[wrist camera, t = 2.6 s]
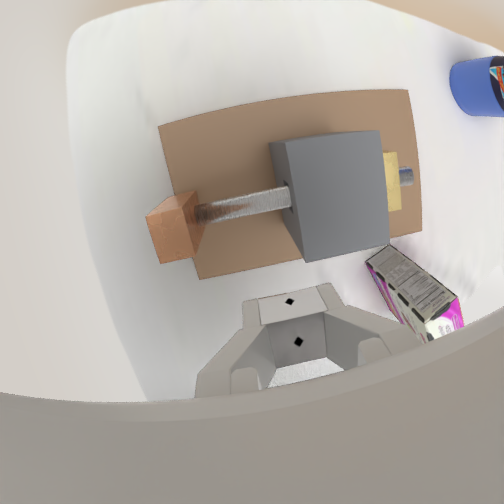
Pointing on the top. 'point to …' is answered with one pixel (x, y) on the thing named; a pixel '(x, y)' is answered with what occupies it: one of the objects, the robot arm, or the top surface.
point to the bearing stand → (298, 175)
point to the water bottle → (479, 86)
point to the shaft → (214, 216)
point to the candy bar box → (415, 295)
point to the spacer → (392, 180)
